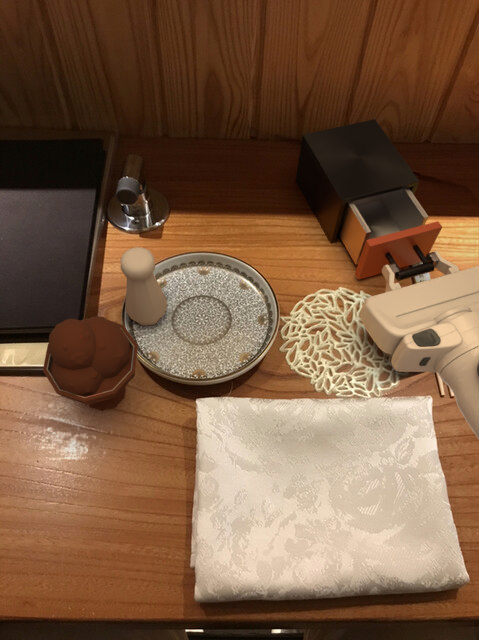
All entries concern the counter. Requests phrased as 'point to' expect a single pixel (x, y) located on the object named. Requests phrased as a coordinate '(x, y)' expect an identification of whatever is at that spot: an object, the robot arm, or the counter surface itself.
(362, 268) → the red drawer
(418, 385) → the counter surface
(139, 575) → the counter surface
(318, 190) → the black drawer cabinet
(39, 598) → the counter surface
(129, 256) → the salt shaker
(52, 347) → the ice cream bowl
